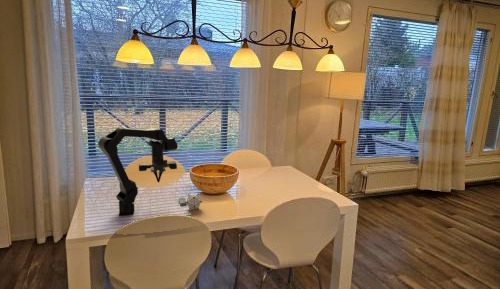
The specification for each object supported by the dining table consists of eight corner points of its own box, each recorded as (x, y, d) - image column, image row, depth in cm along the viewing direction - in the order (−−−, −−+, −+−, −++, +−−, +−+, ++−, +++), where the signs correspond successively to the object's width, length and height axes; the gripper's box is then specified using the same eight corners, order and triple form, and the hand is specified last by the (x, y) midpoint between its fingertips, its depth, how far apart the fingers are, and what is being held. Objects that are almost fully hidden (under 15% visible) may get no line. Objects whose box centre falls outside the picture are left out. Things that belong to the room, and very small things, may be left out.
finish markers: (185, 218, 159) (184, 215, 159) (178, 200, 182) (178, 197, 182) (191, 218, 160) (191, 215, 160) (184, 199, 183) (184, 197, 183)
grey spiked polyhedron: (189, 216, 171) (178, 200, 171) (202, 206, 176) (191, 191, 176) (195, 213, 164) (184, 196, 164) (208, 203, 169) (197, 187, 169)
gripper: (138, 157, 161) (139, 188, 164) (177, 155, 166) (178, 185, 170) (138, 152, 171) (139, 181, 174) (175, 150, 177) (176, 179, 180)
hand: (158, 182), depth 174 cm, fingers closed
